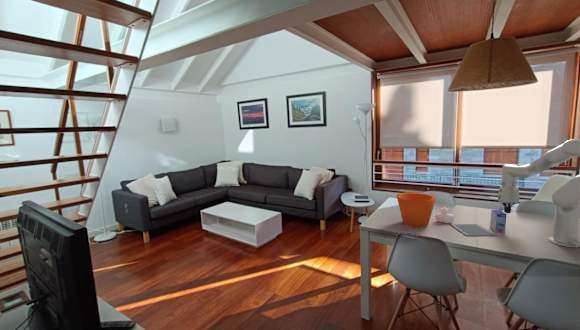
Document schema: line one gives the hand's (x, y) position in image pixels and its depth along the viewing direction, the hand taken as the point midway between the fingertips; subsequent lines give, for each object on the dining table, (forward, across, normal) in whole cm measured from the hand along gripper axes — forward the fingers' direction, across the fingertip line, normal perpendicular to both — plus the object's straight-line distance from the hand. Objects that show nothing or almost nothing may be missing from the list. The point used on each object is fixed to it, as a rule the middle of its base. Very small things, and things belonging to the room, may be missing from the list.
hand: (507, 212), depth 174 cm
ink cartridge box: (+12, -5, 0) cm, 13 cm away
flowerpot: (+12, -51, +14) cm, 54 cm away
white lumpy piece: (+12, -30, +17) cm, 37 cm away
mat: (+11, -21, 0) cm, 24 cm away
